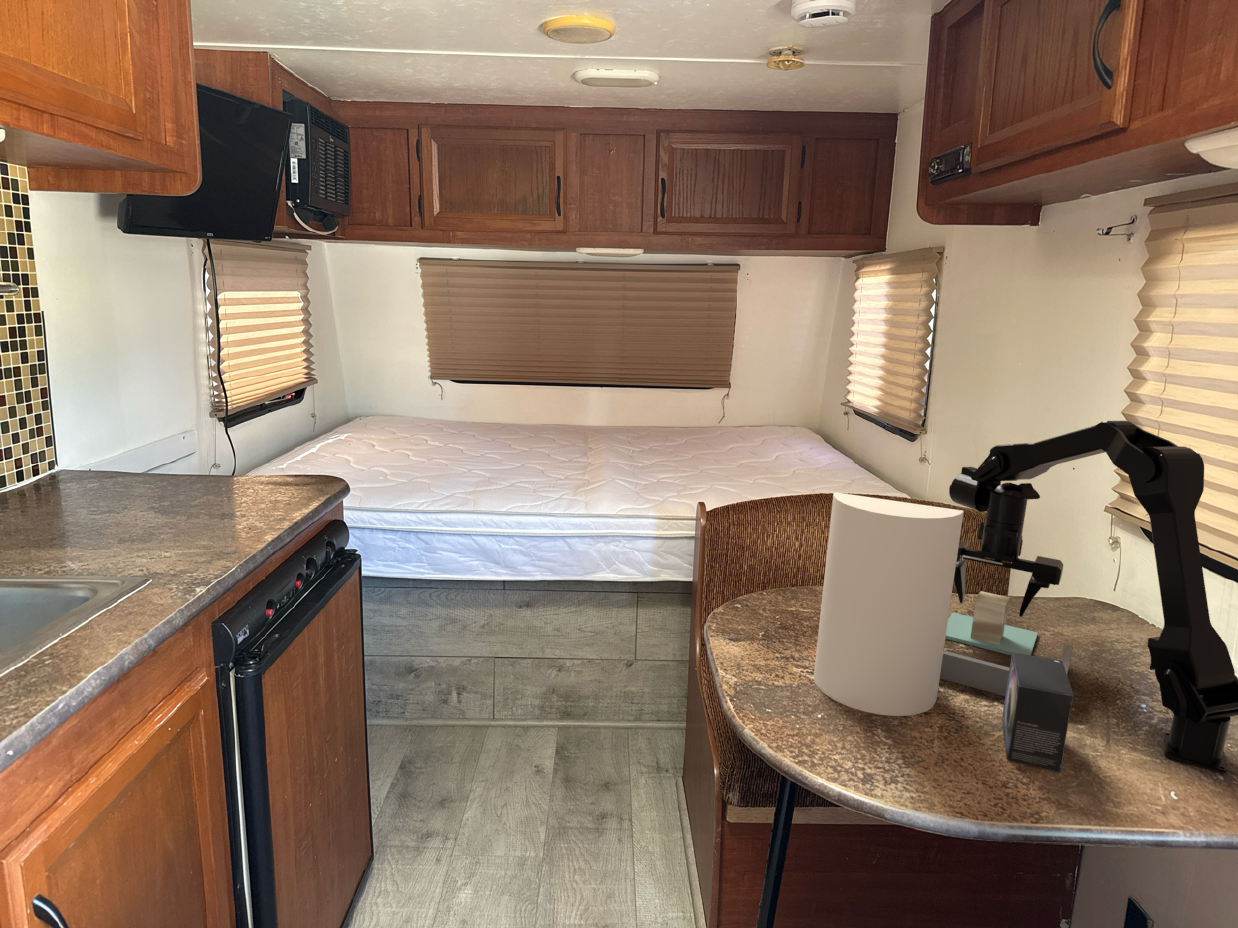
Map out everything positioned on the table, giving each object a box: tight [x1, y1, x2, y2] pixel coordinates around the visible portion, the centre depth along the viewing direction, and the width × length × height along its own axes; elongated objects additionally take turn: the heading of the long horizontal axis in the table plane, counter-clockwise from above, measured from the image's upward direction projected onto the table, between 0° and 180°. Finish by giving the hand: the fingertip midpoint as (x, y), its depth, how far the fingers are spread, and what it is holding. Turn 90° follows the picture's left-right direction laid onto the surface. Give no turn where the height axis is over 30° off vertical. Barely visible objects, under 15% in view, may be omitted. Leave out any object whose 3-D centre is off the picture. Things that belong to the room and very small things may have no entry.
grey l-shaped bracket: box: [940, 643, 1074, 697], centre depth 126 cm, size 16×25×4 cm, turn 57°
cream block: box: [970, 590, 1010, 645], centre depth 135 cm, size 4×4×7 cm
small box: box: [1001, 653, 1075, 773], centre depth 103 cm, size 11×6×10 cm, turn 159°
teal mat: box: [945, 611, 1039, 657], centre depth 138 cm, size 12×14×1 cm
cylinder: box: [813, 491, 964, 717], centre depth 115 cm, size 17×17×28 cm
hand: (990, 609), depth 135 cm, fingers open, 9 cm apart
